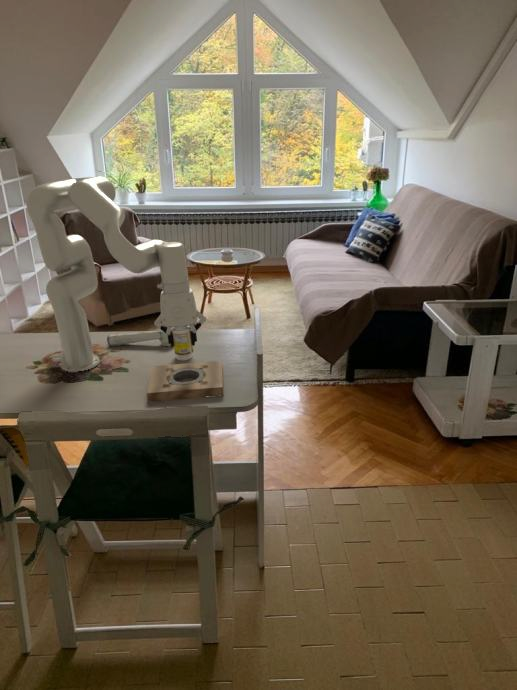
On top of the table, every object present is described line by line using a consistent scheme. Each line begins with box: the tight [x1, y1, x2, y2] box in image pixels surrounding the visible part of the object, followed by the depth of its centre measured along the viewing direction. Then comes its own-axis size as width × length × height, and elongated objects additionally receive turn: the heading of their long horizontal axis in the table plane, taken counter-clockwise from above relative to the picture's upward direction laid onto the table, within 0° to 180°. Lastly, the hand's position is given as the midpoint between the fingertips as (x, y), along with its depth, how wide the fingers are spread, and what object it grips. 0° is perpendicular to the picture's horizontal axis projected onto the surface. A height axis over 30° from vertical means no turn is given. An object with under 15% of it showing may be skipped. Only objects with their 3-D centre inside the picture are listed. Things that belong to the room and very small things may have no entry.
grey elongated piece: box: [106, 328, 173, 347], centre depth 199 cm, size 5×7×25 cm
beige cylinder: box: [173, 349, 193, 361], centre depth 187 cm, size 7×7×7 cm
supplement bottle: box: [171, 326, 194, 357], centre depth 162 cm, size 6×6×10 cm
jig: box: [146, 360, 224, 403], centre depth 168 cm, size 22×18×3 cm
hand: (183, 344), depth 163 cm, fingers closed on supplement bottle, 5 cm apart
